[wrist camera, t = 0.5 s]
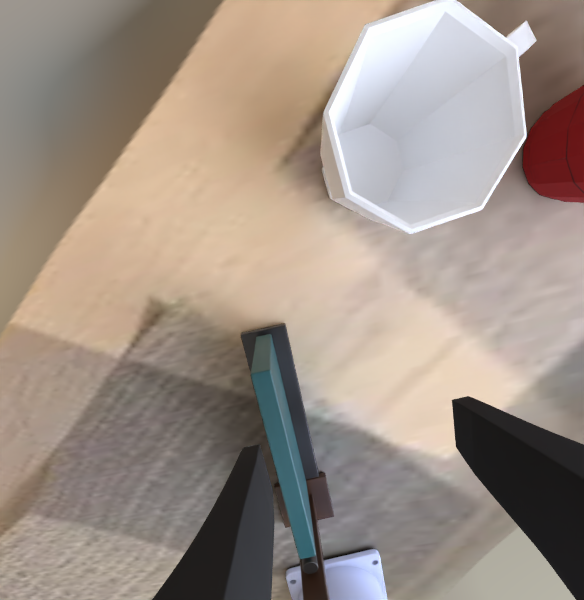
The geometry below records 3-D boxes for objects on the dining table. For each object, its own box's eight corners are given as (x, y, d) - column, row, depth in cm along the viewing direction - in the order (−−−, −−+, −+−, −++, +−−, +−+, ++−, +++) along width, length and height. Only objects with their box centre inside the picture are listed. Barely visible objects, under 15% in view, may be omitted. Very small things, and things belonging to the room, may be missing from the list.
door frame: (333, 511, 23) (378, 716, 13) (284, 523, 23) (294, 736, 13) (292, 321, 19) (313, 414, 9) (233, 334, 19) (193, 441, 9)
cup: (274, 165, 17) (277, 106, 9) (411, 39, 16) (549, -152, 8) (347, 256, 18) (404, 274, 10) (475, 147, 17) (645, 76, 9)
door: (306, 481, 21) (316, 556, 16) (291, 485, 21) (297, 560, 16) (271, 333, 18) (270, 369, 13) (254, 336, 18) (248, 374, 13)
